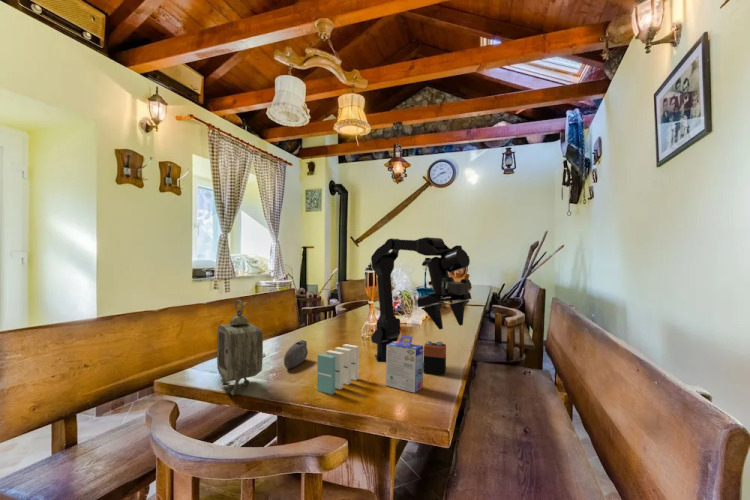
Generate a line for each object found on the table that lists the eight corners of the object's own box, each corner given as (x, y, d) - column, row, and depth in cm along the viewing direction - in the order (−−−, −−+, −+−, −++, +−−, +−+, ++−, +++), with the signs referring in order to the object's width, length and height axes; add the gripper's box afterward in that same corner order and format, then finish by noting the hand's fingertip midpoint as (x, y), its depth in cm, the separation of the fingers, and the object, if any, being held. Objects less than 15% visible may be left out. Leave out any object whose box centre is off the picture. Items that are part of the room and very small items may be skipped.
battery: (444, 376, 105) (444, 344, 106) (423, 373, 108) (423, 342, 108) (446, 371, 110) (446, 341, 110) (425, 369, 112) (425, 339, 112)
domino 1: (321, 388, 95) (321, 353, 95) (335, 392, 92) (335, 356, 92) (317, 390, 93) (317, 355, 93) (331, 394, 91) (331, 357, 91)
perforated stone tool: (292, 372, 107) (292, 351, 107) (277, 371, 108) (277, 350, 108) (311, 358, 122) (311, 339, 122) (297, 357, 123) (297, 338, 123)
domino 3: (337, 379, 101) (338, 346, 102) (351, 382, 99) (351, 349, 99) (334, 381, 100) (334, 348, 100) (347, 384, 97) (348, 350, 98)
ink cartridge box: (424, 387, 96) (424, 337, 96) (415, 393, 92) (416, 341, 92) (394, 380, 102) (394, 332, 102) (385, 386, 97) (385, 336, 97)
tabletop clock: (216, 382, 98) (217, 298, 99) (247, 376, 104) (249, 296, 104) (228, 399, 87) (230, 304, 87) (263, 391, 92) (264, 301, 93)
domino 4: (345, 375, 105) (345, 343, 105) (358, 378, 102) (358, 346, 103) (342, 377, 103) (342, 345, 104) (355, 380, 101) (355, 347, 101)
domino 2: (329, 383, 98) (330, 350, 98) (343, 387, 96) (343, 352, 96) (326, 385, 97) (326, 351, 97) (339, 389, 94) (340, 354, 94)
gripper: (438, 270, 91) (451, 327, 87) (479, 268, 102) (492, 319, 98) (411, 279, 99) (422, 332, 95) (451, 277, 110) (462, 325, 106)
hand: (451, 327), depth 98 cm, fingers open, 9 cm apart
